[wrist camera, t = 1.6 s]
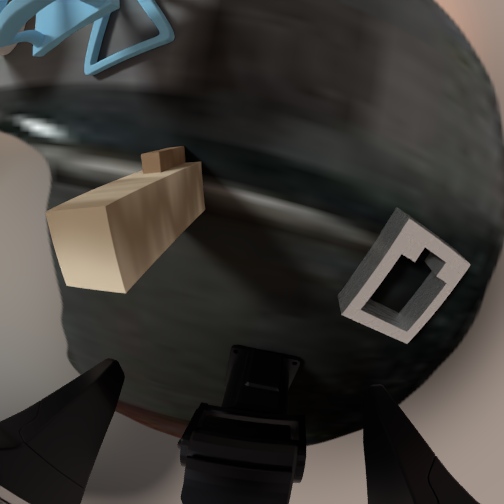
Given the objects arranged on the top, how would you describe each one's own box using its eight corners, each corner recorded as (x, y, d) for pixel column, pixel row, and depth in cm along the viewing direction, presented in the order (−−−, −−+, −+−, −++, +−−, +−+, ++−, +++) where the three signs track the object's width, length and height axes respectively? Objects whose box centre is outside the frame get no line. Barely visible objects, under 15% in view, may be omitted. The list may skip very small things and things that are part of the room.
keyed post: (205, 209, 20) (125, 293, 10) (161, 210, 20) (66, 285, 11) (199, 144, 18) (99, 172, 8) (154, 149, 19) (40, 184, 9)
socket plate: (399, 325, 22) (407, 343, 20) (337, 295, 21) (341, 314, 19) (456, 250, 18) (470, 264, 16) (396, 207, 18) (409, 218, 16)
